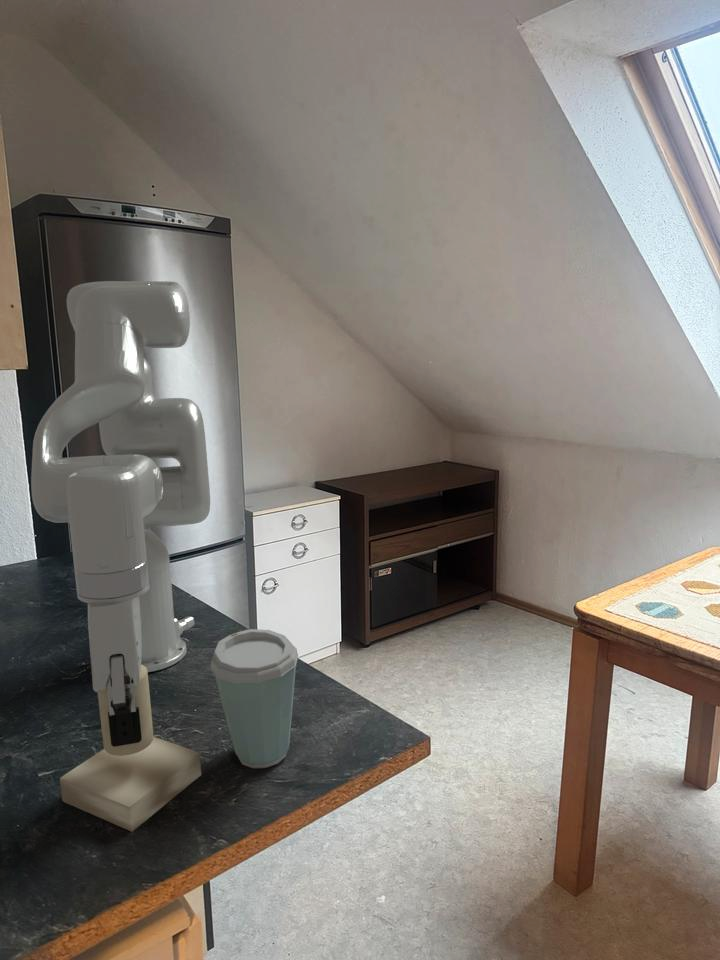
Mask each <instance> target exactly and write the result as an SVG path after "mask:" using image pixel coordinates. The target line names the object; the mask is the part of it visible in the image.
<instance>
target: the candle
mask: <svg viewBox="0 0 720 960" xmlns="http://www.w3.org/2000/svg"><path fill="white" fill-rule="evenodd" d="M148 673H149V672H147V668H146V667H145V666H143V665H141V671H140V682H139V683H138V684H137V685H136V686H135V698H136V707H139V714H140V725H141V735H142V739H141V741H140V742H139V743H133V744H128V745H122V746H116V747H113V746H112V745H111V738H110V729H109V719H108V712H109V702H108V690H107V683H106V686H105V689H104V690H100V692H97V698H98V699H97V700H98V707H99V717H100V726H101V736H102V742H103V743H102V745H103V749H105V751H106V752H107V753H109V754H111V755H116V756H125V755H131V754H134V753H137V752H140V751H142V750H144V749H145V748H147V747H148V746H149V745H150V744H151V742H152V740H153V737H154V729H153V728H154V727H153V717H152V707H151V694H150V684H149V674H148ZM111 681H112V680H111ZM127 682H130V677H129V678H125V683H127ZM125 693H126V696H129V698H130V692H129V689H126V690H125Z"/></svg>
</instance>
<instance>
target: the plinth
mask: <svg viewBox="0 0 720 960" xmlns="http://www.w3.org/2000/svg"><path fill="white" fill-rule="evenodd" d="M201 776H202V766H201V755H200V752H199V751H197V750H194V749H190V748H188V747H185V746H181V745H179V744H176V743H172V742H169V741H167V740H164V739H162V738H159V737H155V736H153V740H152V742H151V744H150V745H149V746H148V747H147V748H145V749H144V750H142V751H140V752H137V753H134V754H131V755H125V756H116V755H111V754H109V753H107V752H106V751H105V749H104V748H103V749H101V750H100V751H99V752H97V753H96V754H94V755H92V756H91V757H89V758H87V760H85V761H83V762H82V763H80V764H78V765H77V766H76V767H74V768H73V769H71V770H69V771H68V772H67V773H65V774H63V776H60V777H59V782H60V783H59V784H60V792H61V798H62V802H64V803H65V804H68V805H70V806H73V807H75V808H77V809H79V810H81V811H83V812H85V813H89V814H90V815H93V816H95V817H97V818H99V819H102V820H104V821H106V822H109V823H111V824H114V825H115V826H117V827H121V828H122V829H125V830H127V831H129V832H132V833H133V832H134V831H135V830H137V828H139V827H141V825H142V824H143V823H145V822H146V821H148V820H149V818H151V817H152V816H153V815H154V814H156V813H157V812H158V811H160V810H161V809H162V808H163V807H164V806H165V805H166V804H168V803H169V802H171V800H173V799H174V798H175V797H176V796H177V795H179V794H180V793H181V792H182V791H184V790H185V789H186V788H187V787H189V785H191V784H192V783H193V782H195V781H196V780H197V779H199V777H201Z"/></svg>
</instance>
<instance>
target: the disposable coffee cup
mask: <svg viewBox="0 0 720 960" xmlns="http://www.w3.org/2000/svg"><path fill="white" fill-rule="evenodd" d="M298 659H299V653H298V649H297V648H296V646H294V644H293V643H292V642H291V641H290V640H289V638H288V637H286V636H285V635H284V634H281V633H279V632H276V631H273V630H270V629H254V628H249V629H244V630H241V631H238V632H234V633H231V634H229V635H227V636H226V637H224V638H222V639H220V640H219V641H217V644H216V646H215V649H214V651H213V656H212V657H211V661H210V667H209V668H210V671H211V672H212V673H213V675H214V678H215V683H216V684H217V689H218V692H219V697H220V701H221V705H222V708H223V712H224V717H225V720H226V723H227V727H228V731H229V734H230V740H231V742H232V746H233V750H234V753H235V755H236V757H238V760H239V761H240V763H241V765H243V766H245V767H248V768H251V769H266V768H270V767H272V766H274V765H278V764H279V763H280V762H282V760H284V759H285V758H286V757H287V753H288V751H289V747H290V740H291V739H290V738H291V728H292V727H291V726H292V716H293V707H294V706H293V704H294V693H295V682H296V672H297V671H296V668H297V662H298Z"/></svg>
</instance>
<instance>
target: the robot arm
mask: <svg viewBox="0 0 720 960" xmlns="http://www.w3.org/2000/svg"><path fill="white" fill-rule="evenodd" d="M189 306H190V305H189V300H188V296H187V293H186V291H185V290H184V287H183V286H182V285H181V284H180V283H178V282H176V281H167V280H165V281H159V280H158V281H155V280H154V281H152V280H151V281H150V280H149V281H141V280H140V281H136V280H135V281H133V280H131V281H130V280H129V281H128V280H127V281H125V280H124V281H123V280H119V281H118V280H117V281H115V280H105V281H92V282H85V283H84V282H83V283H81V284H77V285H75V286H73V287H72V288H70V290H69V291H68V293H67V295H66V308H67V314H68V317H69V321H70V323H71V326H72V327H73V331H74V333H75V335H74V343H75V344H74V345H75V346H74V347H75V348H74V349H75V350H74V383H73V384H71V386H69V387H68V388H67V389H66V390H65V391H64V392H62V393H61V394H60V395H58V397H57V398H56V399H55V400H54V401H53V403H52V404H51V405H50V406H49V407H48V409H46V412H45V413H44V415H43V416H42V417H41V420H40V421H39V423H38V425H37V428H36V430H35V432H34V437H33V441H32V455H31V456H32V458H31V473H30V474H31V476H30V477H31V478H30V479H31V480H30V481H31V483H30V485H31V486H30V487H31V498H32V504H33V506H34V509H35V511H36V512H37V514H38V515H39V516H40V517H41V518H42V519H43V520H45V521H49V522H52V523H58V524H60V523H63V524H64V523H69V532H70V543H71V550H72V560H73V567H74V576H75V577H74V578H75V587H76V593H77V594H76V595H77V596H76V597H77V599H78V600H79V601H80V602H83V603H85V604H87V625H88V626H87V627H88V639H89V640H88V641H89V652H90V654H89V655H90V667H91V677H92V678H91V680H92V690H93V691H94V692H95V693H98V692H100V690H104V689H105V686H106V683H107V690H108V702H109V712H108V719H109V729H110V738H111V745H112V746H113V747H116V746H122V745H128V744H133V743H139V742H140V741H141V739H142V735H141V725H140V714H139V707H136V698H135V686H136V685H137V684H138V683H139V682H140V671H141V665H143V666H145V667H146V668H147V672H148V673H151V672H156V671H160V670H164V669H166V668H169V667H171V666H173V665H175V664H177V663H178V662H180V661H182V659H183V658H184V657H185V656H186V654H187V643H186V641H185V640H183V638H181V635H183V633H184V631H186V630H188V629H191V628H193V627H194V626H195V624H196V623H195V619H194V617H192V616H191V615H190V616H189V615H188V616H186V617H184V618H182V619H181V620H180V621H178V619H177V618H176V617H175V613H174V601H173V600H174V599H173V590H172V589H173V588H172V574H171V560H170V553H169V550H168V549H167V546H166V545H165V543H164V542H163V541H162V539H160V537H159V536H158V535H157V534H156V533H155V532H153V531H152V529H158V528H167V527H177V526H186V525H194V524H199V523H202V522H203V521H205V520H206V519H207V518H208V516H209V514H210V509H211V490H210V479H209V467H208V453H207V445H206V444H207V442H206V432H205V424H204V419H203V414H202V412H201V409H200V407H199V405H198V404H197V403H196V402H195V401H194V400H192V399H189V398H184V397H169V398H168V397H167V398H166V397H165V398H156V397H155V393H154V387H153V385H154V384H153V374H152V369H151V366H150V364H149V362H148V361H147V360H146V358H145V357H144V356H145V355H144V354H145V353H144V349H173V348H174V349H175V348H176V349H177V348H181V347H183V346H184V345H186V343H187V341H188V339H189V335H190V327H191V320H190V318H191V316H190V315H191V314H190V307H189ZM96 424H98V427H99V434H100V435H99V436H100V442H101V443H100V444H101V447H102V449H103V452H104V453H105V454H103V455H102V454H101V455H89V456H87V455H86V456H72V457H71V456H70V457H69V456H68V457H62V455H63V452H64V449H65V448H66V446H67V445H68V444H69V443H70V442H71V440H72V439H73V438H74V437H76V436H77V435H78V434H80V433H81V432H83V431H85V429H88V428H90V427H92V426H94V425H96ZM157 459H174V460H176V461H177V462H179V465H177V466H176V465H175V466H160V467H159V466H158V465H157V464H156V463H155V461H154V460H157ZM129 677H130V682H127V683H125V678H129ZM111 680H112V681H111ZM126 689H129V692H130V698H129V696H126V693H125V690H126Z"/></svg>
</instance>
